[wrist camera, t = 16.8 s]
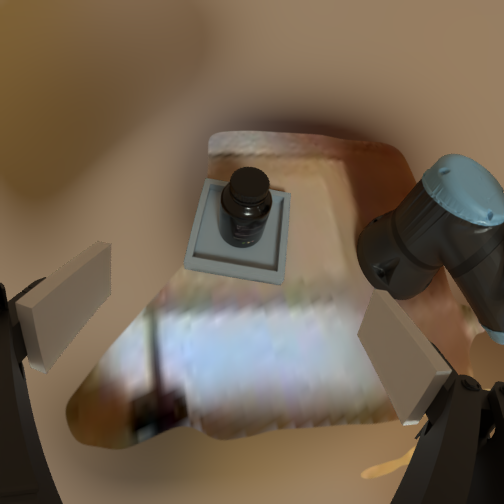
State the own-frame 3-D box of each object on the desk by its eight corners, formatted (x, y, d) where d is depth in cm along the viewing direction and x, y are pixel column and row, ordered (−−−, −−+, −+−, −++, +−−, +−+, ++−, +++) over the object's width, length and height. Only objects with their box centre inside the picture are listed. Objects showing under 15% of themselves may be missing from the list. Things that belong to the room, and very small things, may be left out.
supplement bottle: (213, 215, 47) (216, 163, 37) (255, 207, 49) (268, 156, 38) (224, 254, 45) (229, 208, 34) (268, 245, 46) (286, 198, 36)
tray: (287, 201, 51) (290, 193, 49) (280, 285, 45) (283, 279, 43) (205, 187, 51) (205, 178, 48) (184, 268, 44) (183, 262, 42)
